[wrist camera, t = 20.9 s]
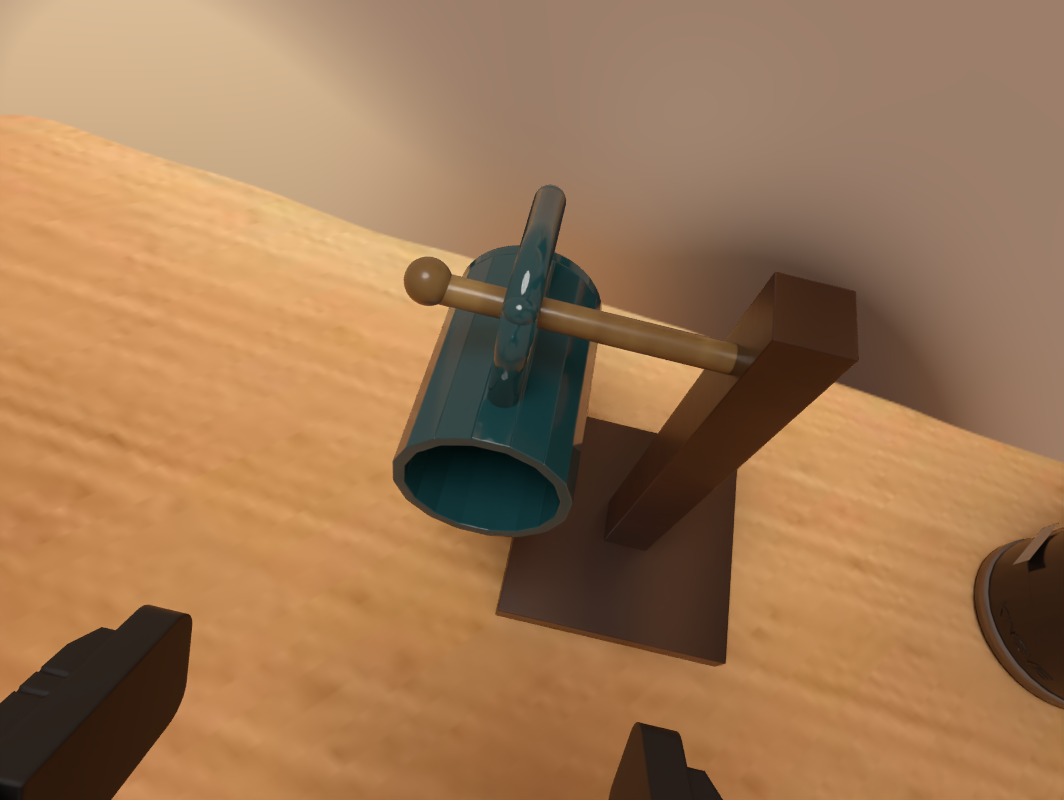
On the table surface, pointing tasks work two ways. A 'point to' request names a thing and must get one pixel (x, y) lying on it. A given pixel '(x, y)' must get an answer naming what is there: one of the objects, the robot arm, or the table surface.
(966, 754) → the table surface
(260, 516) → the table surface
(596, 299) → the mug
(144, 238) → the table surface
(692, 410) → the mug stand
